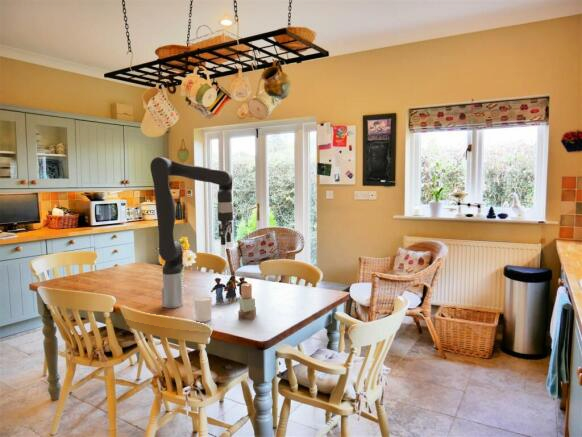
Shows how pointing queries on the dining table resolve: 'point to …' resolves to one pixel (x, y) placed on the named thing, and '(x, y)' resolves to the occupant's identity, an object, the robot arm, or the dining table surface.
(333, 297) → the dining table surface
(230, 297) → the doll family
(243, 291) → the terracotta cylinder
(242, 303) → the sage cube
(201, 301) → the white cup
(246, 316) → the walnut base
